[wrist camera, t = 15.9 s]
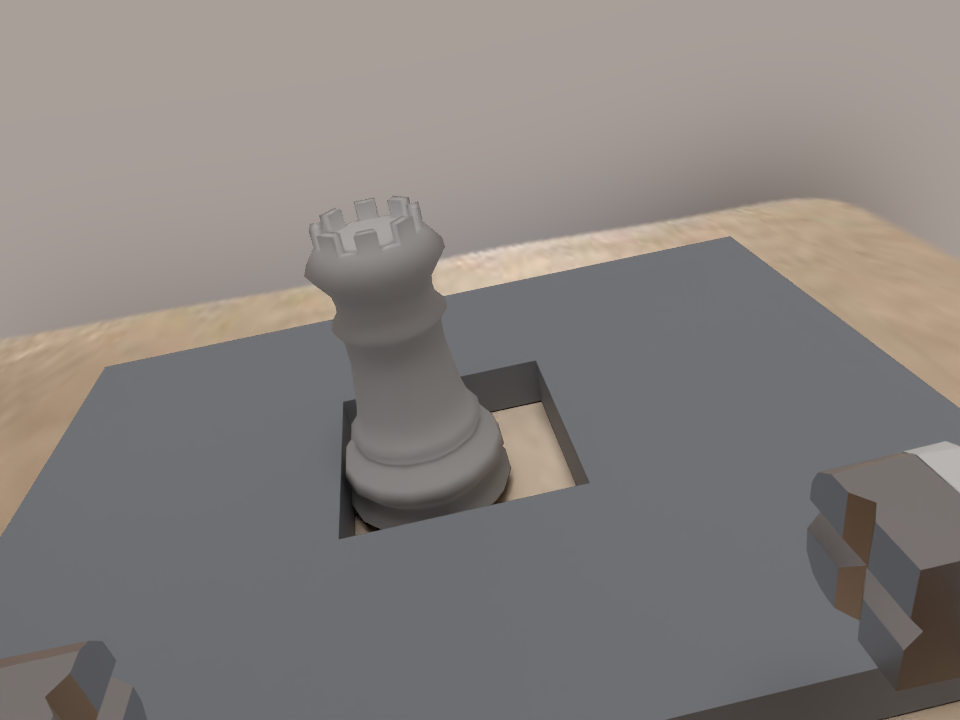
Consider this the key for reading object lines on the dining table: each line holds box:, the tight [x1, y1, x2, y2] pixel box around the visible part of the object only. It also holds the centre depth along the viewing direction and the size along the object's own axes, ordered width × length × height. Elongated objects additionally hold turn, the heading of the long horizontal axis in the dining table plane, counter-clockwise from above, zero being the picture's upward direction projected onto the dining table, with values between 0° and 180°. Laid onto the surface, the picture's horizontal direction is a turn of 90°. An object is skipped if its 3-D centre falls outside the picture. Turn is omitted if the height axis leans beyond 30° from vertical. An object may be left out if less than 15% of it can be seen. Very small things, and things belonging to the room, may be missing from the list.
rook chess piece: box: [304, 196, 511, 530], centre depth 18 cm, size 4×4×8 cm
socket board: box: [0, 236, 960, 720], centre depth 20 cm, size 24×18×2 cm
